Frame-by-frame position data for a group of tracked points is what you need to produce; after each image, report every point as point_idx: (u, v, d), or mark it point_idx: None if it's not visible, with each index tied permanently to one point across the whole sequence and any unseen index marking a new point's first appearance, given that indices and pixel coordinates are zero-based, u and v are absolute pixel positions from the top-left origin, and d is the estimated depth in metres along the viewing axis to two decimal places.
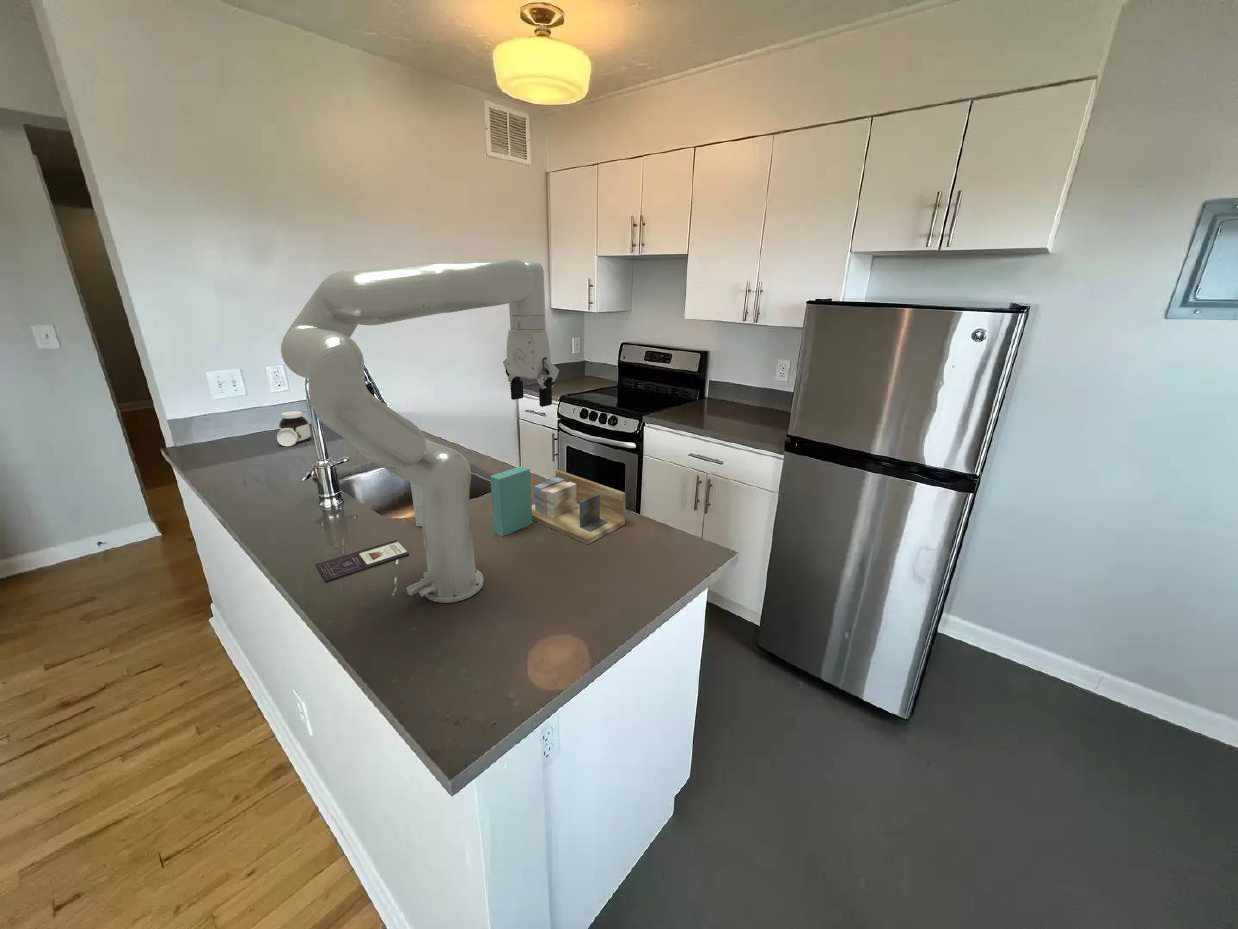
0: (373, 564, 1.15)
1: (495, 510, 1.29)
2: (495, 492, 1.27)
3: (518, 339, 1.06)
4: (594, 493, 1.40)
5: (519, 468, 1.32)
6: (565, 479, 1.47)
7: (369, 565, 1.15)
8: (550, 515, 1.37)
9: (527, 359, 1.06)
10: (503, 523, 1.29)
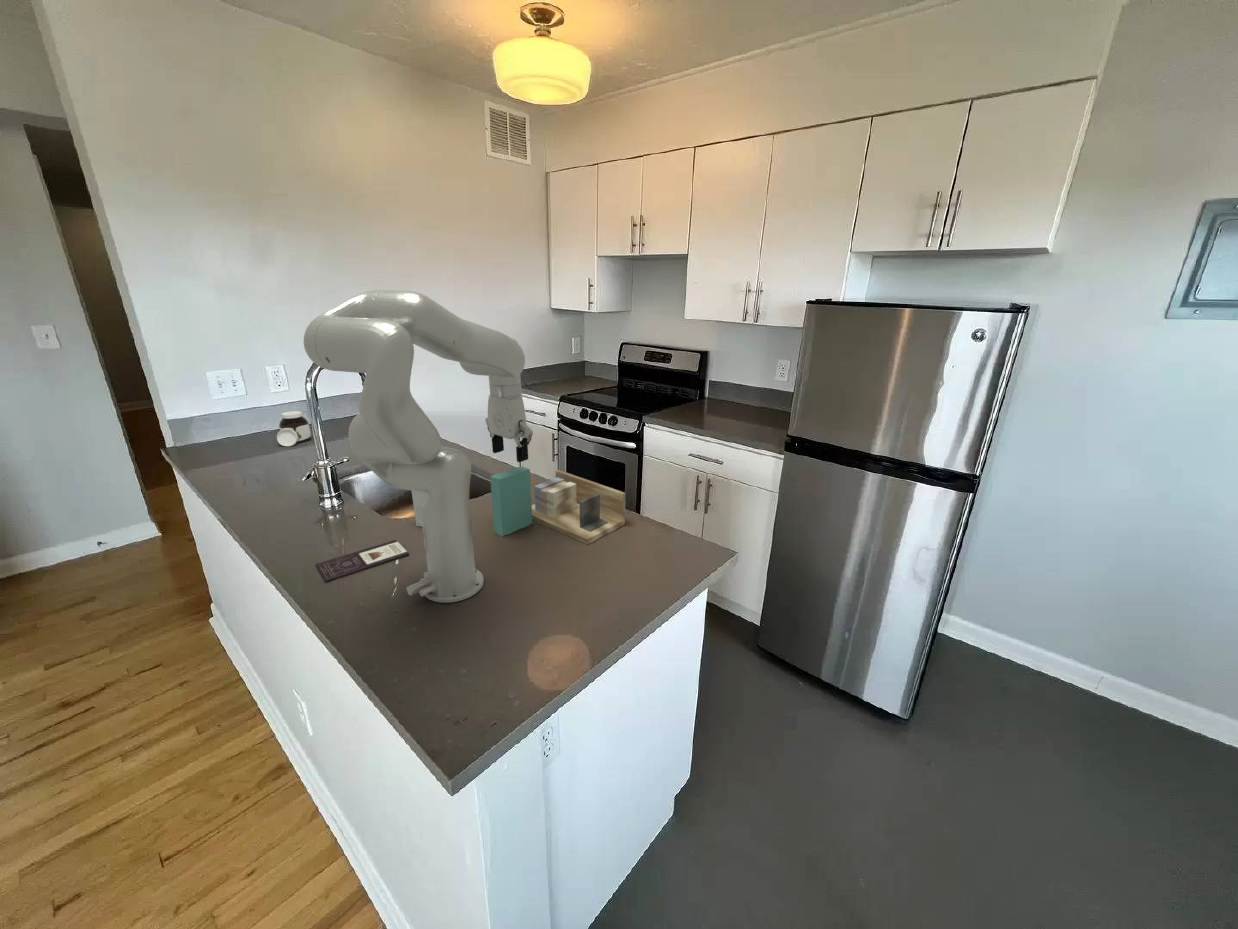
0: (373, 564, 1.15)
1: (495, 510, 1.29)
2: (495, 492, 1.27)
3: (497, 404, 1.21)
4: (594, 493, 1.40)
5: (519, 468, 1.32)
6: (565, 479, 1.47)
7: (369, 565, 1.15)
8: (550, 515, 1.37)
9: (505, 422, 1.21)
10: (503, 523, 1.29)
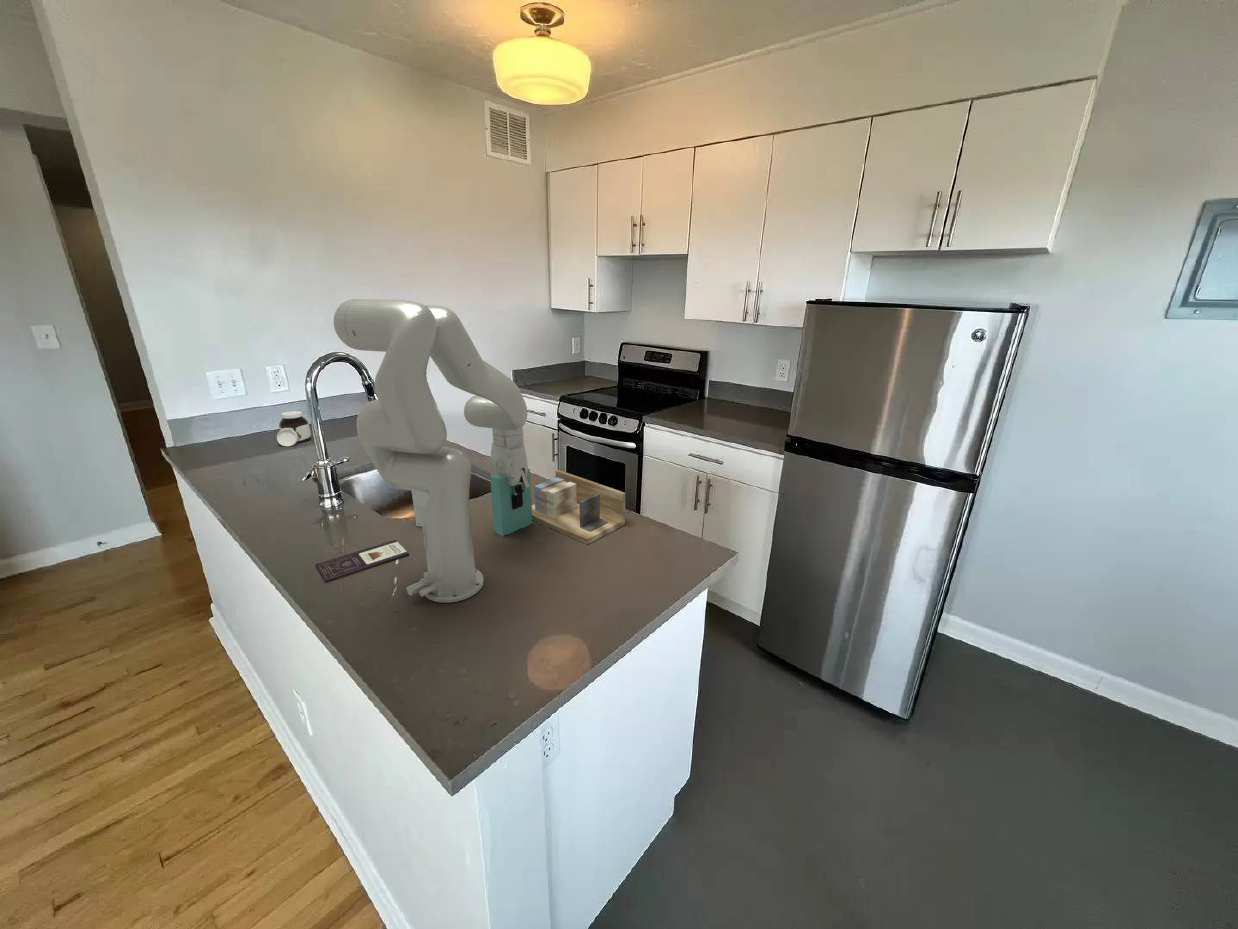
0: (373, 564, 1.15)
1: (495, 510, 1.29)
2: (495, 492, 1.27)
3: (500, 453, 1.25)
4: (594, 493, 1.40)
5: None
6: (565, 479, 1.47)
7: (369, 565, 1.15)
8: (550, 515, 1.37)
9: (507, 470, 1.25)
10: (503, 523, 1.29)
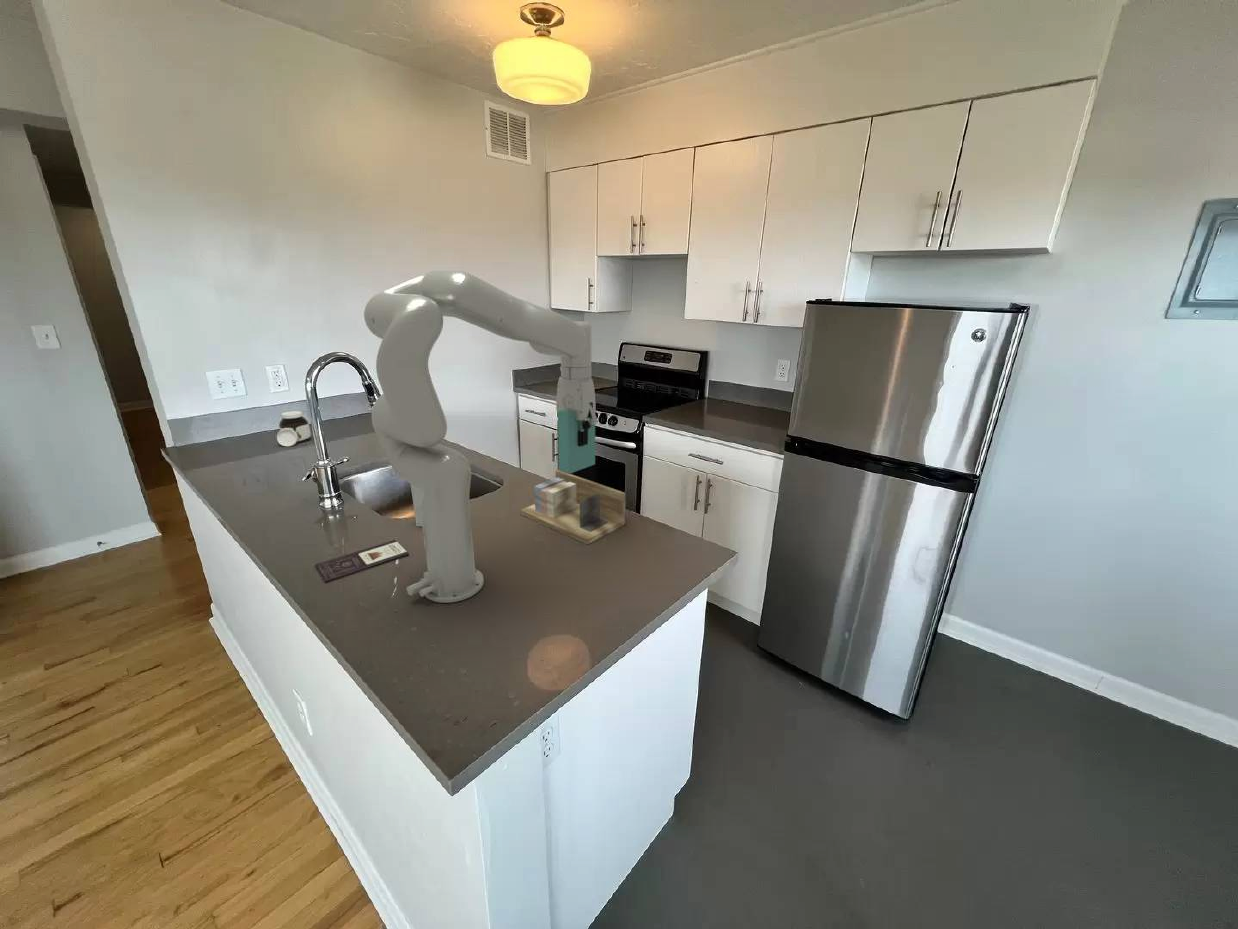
0: (373, 564, 1.15)
1: (562, 446, 1.27)
2: (563, 427, 1.25)
3: (568, 386, 1.23)
4: (594, 493, 1.40)
5: None
6: (565, 479, 1.47)
7: (369, 565, 1.15)
8: (550, 515, 1.37)
9: (576, 404, 1.23)
10: (569, 460, 1.27)
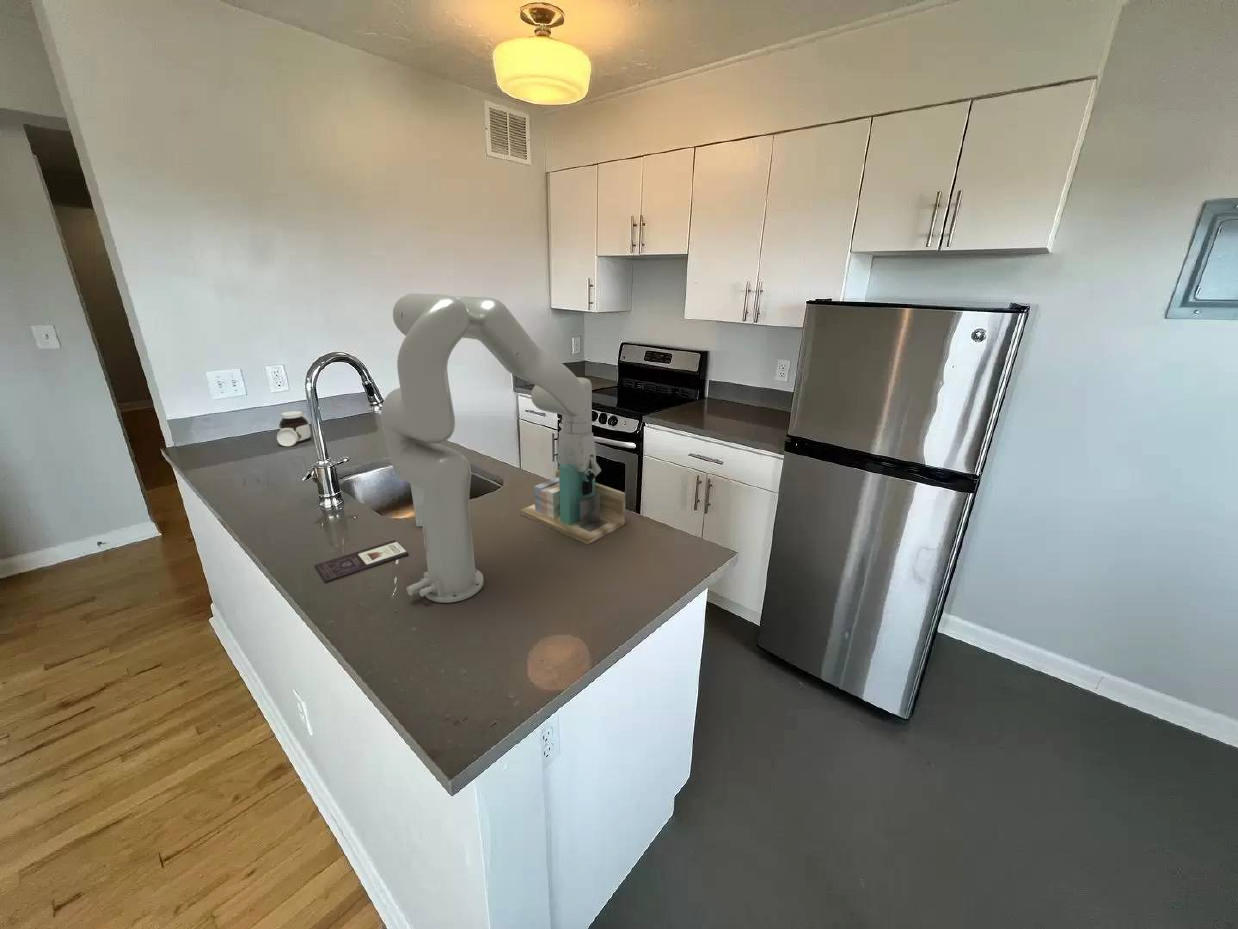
0: (373, 564, 1.15)
1: (563, 499, 1.32)
2: (564, 482, 1.30)
3: (569, 440, 1.28)
4: None
5: None
6: None
7: (369, 565, 1.15)
8: (550, 515, 1.37)
9: (577, 456, 1.28)
10: (570, 513, 1.32)
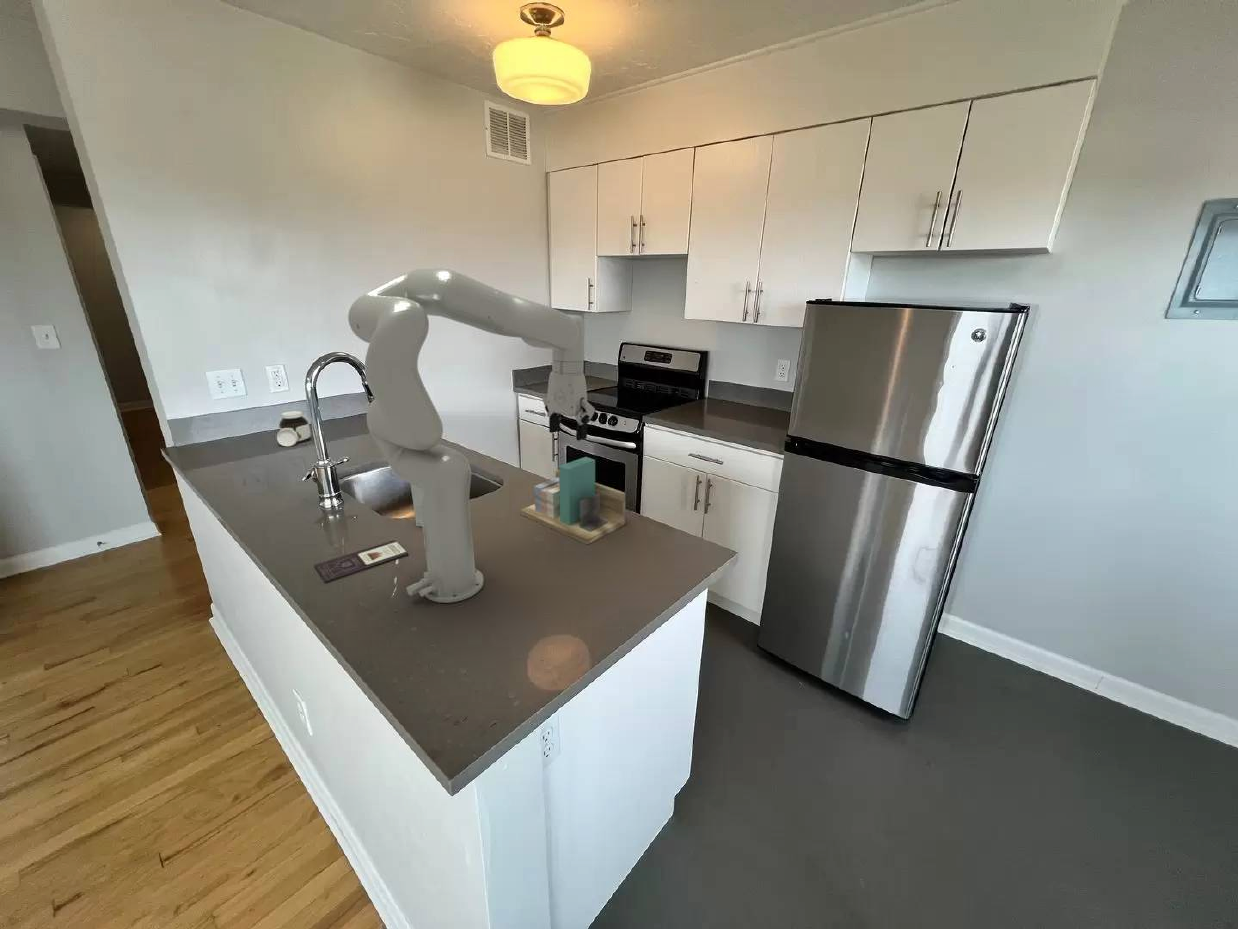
0: (373, 565, 1.15)
1: (563, 499, 1.32)
2: (564, 482, 1.30)
3: (559, 381, 1.20)
4: None
5: (584, 459, 1.35)
6: None
7: (368, 565, 1.15)
8: (550, 515, 1.37)
9: (567, 399, 1.20)
10: (570, 513, 1.32)
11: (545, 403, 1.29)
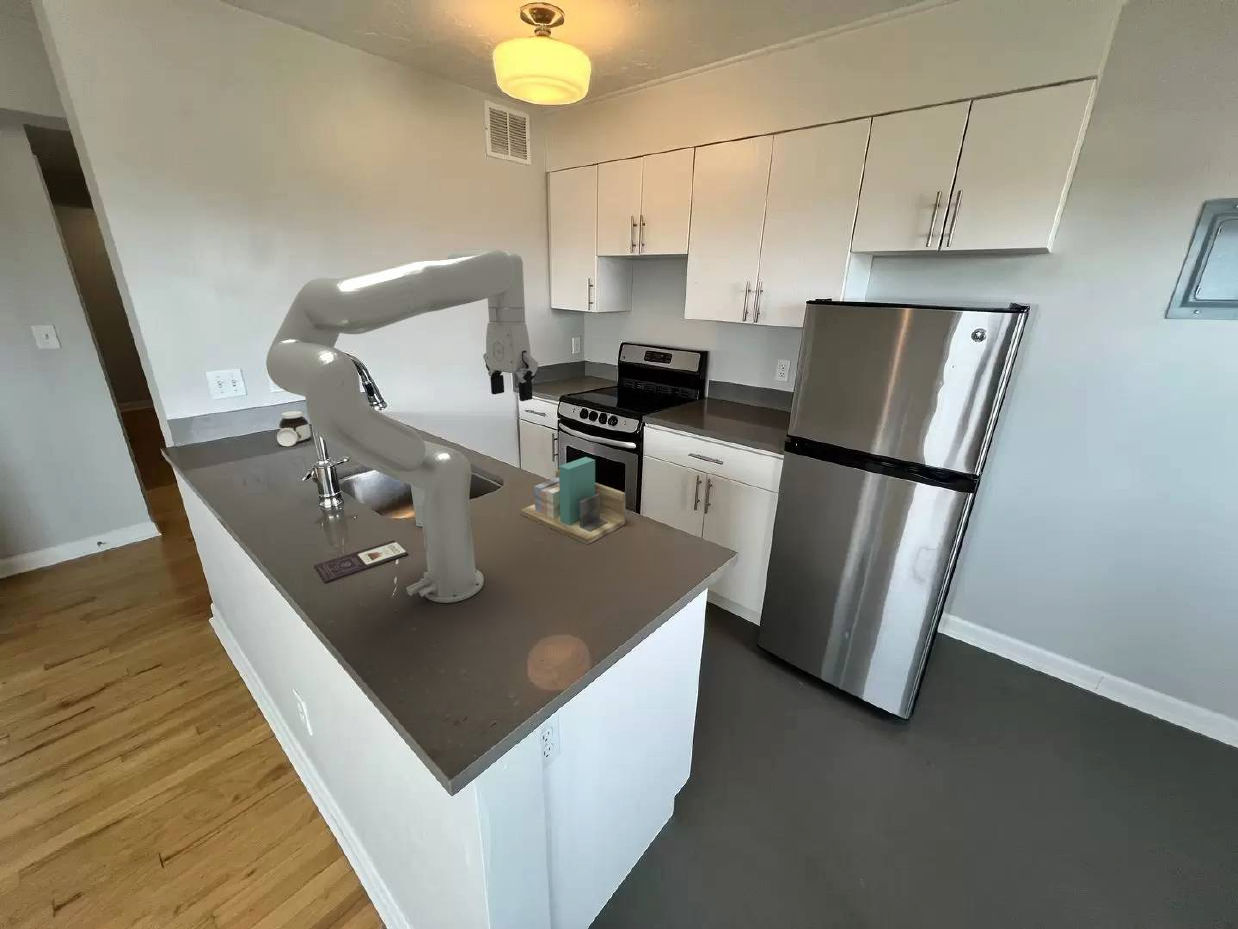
0: (373, 565, 1.15)
1: (563, 499, 1.32)
2: (564, 482, 1.30)
3: (497, 332, 1.04)
4: None
5: (584, 459, 1.35)
6: None
7: (368, 565, 1.15)
8: (550, 515, 1.37)
9: (506, 352, 1.04)
10: (570, 513, 1.32)
11: (486, 360, 1.13)
